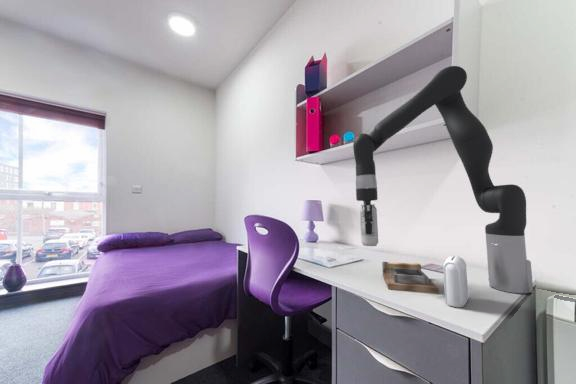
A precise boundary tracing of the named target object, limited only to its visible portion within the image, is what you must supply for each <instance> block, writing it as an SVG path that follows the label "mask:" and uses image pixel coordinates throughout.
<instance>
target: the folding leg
mask: <svg viewBox="0 0 576 384" xmlns="http://www.w3.org/2000/svg"><path fill="white" fill-rule="evenodd" d="M381 264H382V274H383V273H390V267H393V268H409V269H420V270H421V271H422V264H420V263H417V262H416V263H412V262H410V263H409V262H389V261H382V262H381Z"/></svg>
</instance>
